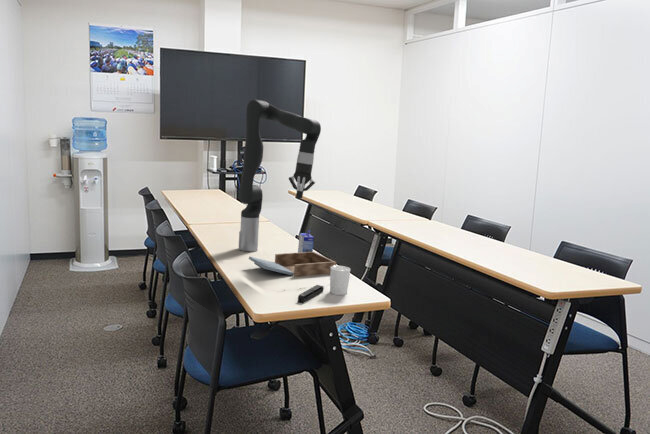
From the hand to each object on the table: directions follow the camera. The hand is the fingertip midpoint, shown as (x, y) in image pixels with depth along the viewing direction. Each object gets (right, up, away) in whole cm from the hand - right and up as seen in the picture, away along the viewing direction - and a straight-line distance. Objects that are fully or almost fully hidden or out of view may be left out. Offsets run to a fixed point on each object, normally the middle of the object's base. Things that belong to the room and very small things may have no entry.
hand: (298, 198), depth 246 cm
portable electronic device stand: (+7, -39, -46) cm, 61 cm away
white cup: (+18, -39, -38) cm, 57 cm away
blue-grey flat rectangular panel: (-5, -32, -18) cm, 37 cm away
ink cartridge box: (+2, -29, +12) cm, 32 cm away
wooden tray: (+3, -33, -12) cm, 35 cm away
